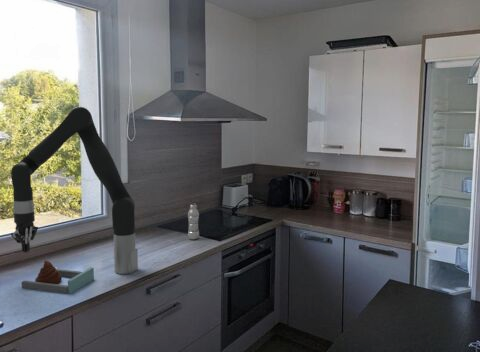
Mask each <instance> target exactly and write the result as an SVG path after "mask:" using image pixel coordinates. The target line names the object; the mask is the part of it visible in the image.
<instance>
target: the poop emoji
mask: <svg viewBox="0 0 480 352" xmlns="http://www.w3.org/2000/svg"><path fill="white" fill-rule="evenodd" d="M43 262H44V264H43V266H42V267H41V268H40V270H39V272H38V275H37V277H36V278H35V281H34V282H42V283H50V284H60V282H61V281H62V279H63V277H61V276H60V275H59V271H58V269H59V268H58V267H56V266H54V265H53V264H52V262H50V261H48V260H44V261H43Z"/></svg>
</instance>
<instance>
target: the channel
mask: <svg viewBox="0 0 480 352" xmlns="http://www.w3.org/2000/svg"><path fill="white" fill-rule="evenodd" d="M57 269H58V271H59V275H60V276H61V278H70V279H68V280H67V285H66V284H59V283H57V284H50V283H42V282H35V281H32V280H25V279H24V280H22V281H21V289H28V290H36V291H45V292H51V293H53V292H54V293H59V294H60V293H62V294H73V293H74V292H76V291H78V290H79V289H81V288H83V287H84V286H86V285H87V284H89V283H90V282H92V281H94V279H95V273H94V272H95V268H94V267H88V268H87V269H86V270H84V271H77V270H70V269H59V268H57Z"/></svg>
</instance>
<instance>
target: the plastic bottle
mask: <svg viewBox="0 0 480 352" xmlns="http://www.w3.org/2000/svg"><path fill="white" fill-rule="evenodd" d="M197 207H198V206H197V203H190V204H189V210H188V212H187V219H188V231H187V238H188V239H189V240H198V239H199V238H200V230H199V216H200V213H199V210H198V209H197Z"/></svg>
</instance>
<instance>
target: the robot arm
mask: <svg viewBox="0 0 480 352" xmlns="http://www.w3.org/2000/svg"><path fill="white" fill-rule="evenodd" d="M76 134H77V135H78V137H79V138H80V140H81V142H82V144H83V147H84V150H85V154H86V157H87V159H88V161H89V164H90V166H91V168H92V170H93V173H94V174H95V176H96V177H97V179H98V180H99V182H100V183H101V184H102V185H103V187H104V188H105V189H106V191H107V193H108V194H109V197H110V200H111V203H112V207H111V216H112V219H111V221H112V231H113V258H114V259H113V260H114V261H113V262H114V272H115V273H116V274H119V275H127V274H131V275H132V274H133V273H134V272H135V271H138V270H139V264H138V263H139V260H138V259H139V257H138V248H137V247H136V225H135V222H136V221H135V208H136V206H135V205H136V204H135V201H134V200H133V198H132V196H131V195H130V194H129V192H128V190H127V189H126V186H125V185H124V183H123V180H122V177H121V175H120V172H119V170H118V167H117V165H116V163H115V161H114V158H113V157H112V155H111V153H110V151H109V149H108V148H107V146H106V145H105V143H104V141H103V140H102V138H101V137H100V134H99V133H98V131H97V128H96V124H95V123H94V119H93V117H92V114H91V112H90V111H89V110H88V109H87V108H86V107H84V106H75V107H73V108H71V109H70V111H69V112H68V114H67V115H66V117H65V118H64V119H63V120H62V122H60V123H59V125H58V126H57V127H56V128H55V129H54V130H53V131H52V132H50V133H49V134H48V135H47V136H46V137H45V138H44V139H42V140H41V141H40V142H39V143H38V144H36V146H34V148H32V149H31V150H30V151H29V152H28V154H27V155H25V157H23V158H21V160H19V161H18V162H17V163H16V164H15V165H13V166H12V168H11V170H10V171H11V172H10V175H11V182H12V189H13V192H12V193H13V207H12V208H13V222H14V224H15V231H14V232H11V233H10V236H11V237H12V238H13V239H14V240H15V242H16V243H17V244H21V252H22V253H28V252H30V251H31V250H30V249H31V247H30V246H31V245H30V243H31V241H33V240H34V239H35V236H36V234H37V232H38V230H39V227H38V226H36V225H35V224H34V222H35V217H36V216H35V204H34V193H33V192H34V191H33V187H32V178H31V176H32V175H33V174H34V173H35V172H36V171H37V170H38V169H39V168H40V167H41V166H42V165H44V164H45V163H46V162H47V161H48V160H49V159H51V158H52V157H53V156H54V155H55V154H56V153H57V152H58V151H59V149H60V148H61V147H62V146H63V145H64V144H65V143H66V142H67V141H68V140H69V139H70V138H71V137H73V136H74V135H76Z"/></svg>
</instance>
